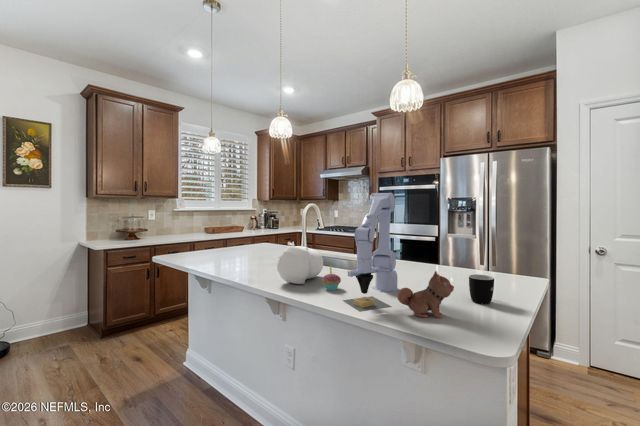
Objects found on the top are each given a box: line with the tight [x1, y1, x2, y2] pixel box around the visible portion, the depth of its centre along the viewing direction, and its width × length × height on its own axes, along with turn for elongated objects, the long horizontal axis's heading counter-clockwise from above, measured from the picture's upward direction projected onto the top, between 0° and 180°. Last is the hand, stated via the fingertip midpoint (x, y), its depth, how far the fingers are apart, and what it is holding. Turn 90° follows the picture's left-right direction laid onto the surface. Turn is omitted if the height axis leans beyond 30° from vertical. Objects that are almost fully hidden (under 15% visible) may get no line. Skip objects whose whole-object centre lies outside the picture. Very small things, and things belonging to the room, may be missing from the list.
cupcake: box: [321, 264, 342, 291], centre depth 143 cm, size 9×8×12 cm
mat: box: [341, 296, 392, 312], centre depth 122 cm, size 14×14×1 cm
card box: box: [353, 296, 374, 308], centre depth 120 cm, size 2×5×6 cm
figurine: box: [397, 270, 455, 319], centre depth 112 cm, size 10×19×15 cm, turn 80°
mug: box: [468, 273, 495, 305], centre depth 126 cm, size 12×9×10 cm
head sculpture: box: [276, 241, 324, 285], centre depth 161 cm, size 19×20×28 cm
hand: (364, 292), depth 122 cm, fingers closed
